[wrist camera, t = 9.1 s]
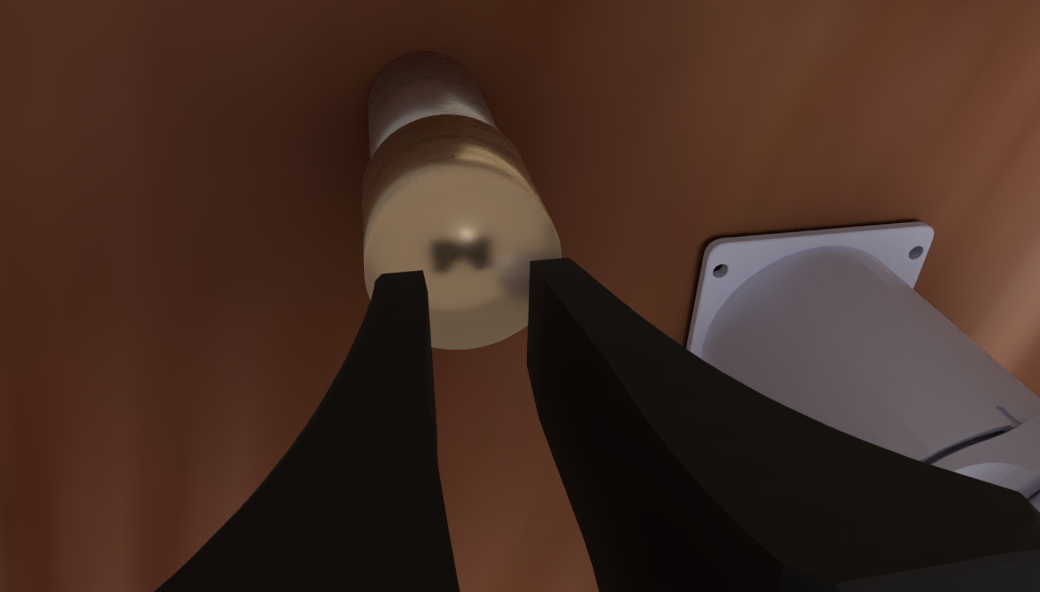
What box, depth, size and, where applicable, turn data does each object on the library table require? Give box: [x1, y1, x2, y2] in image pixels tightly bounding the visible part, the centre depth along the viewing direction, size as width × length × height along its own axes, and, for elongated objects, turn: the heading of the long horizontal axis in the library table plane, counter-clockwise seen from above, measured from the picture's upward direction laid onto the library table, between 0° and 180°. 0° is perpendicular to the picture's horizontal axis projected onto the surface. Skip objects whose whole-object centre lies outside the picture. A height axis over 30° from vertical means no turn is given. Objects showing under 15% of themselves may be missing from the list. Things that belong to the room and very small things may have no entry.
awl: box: [362, 52, 562, 350], centre depth 16 cm, size 3×3×8 cm
